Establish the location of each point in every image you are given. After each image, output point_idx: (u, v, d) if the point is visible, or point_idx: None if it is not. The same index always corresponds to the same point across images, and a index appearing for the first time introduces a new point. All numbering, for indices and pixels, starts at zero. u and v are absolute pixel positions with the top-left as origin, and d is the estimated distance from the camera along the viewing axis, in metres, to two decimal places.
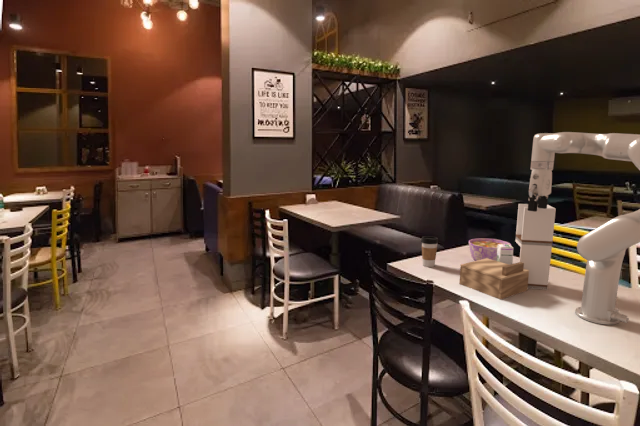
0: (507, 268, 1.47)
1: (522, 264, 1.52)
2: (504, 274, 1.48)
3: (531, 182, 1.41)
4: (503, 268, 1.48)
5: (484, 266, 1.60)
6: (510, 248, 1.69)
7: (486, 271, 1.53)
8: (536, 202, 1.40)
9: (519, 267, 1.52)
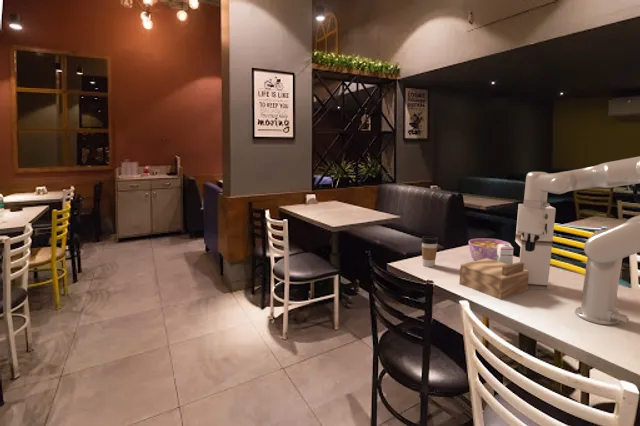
0: (507, 268, 1.47)
1: (522, 264, 1.52)
2: (504, 274, 1.48)
3: (543, 222, 1.37)
4: (503, 268, 1.48)
5: (484, 266, 1.60)
6: (510, 248, 1.69)
7: (486, 271, 1.53)
8: None
9: (519, 267, 1.52)
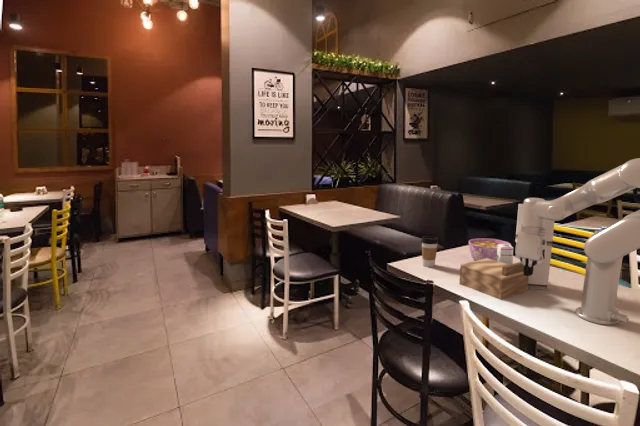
0: (507, 268, 1.47)
1: (522, 264, 1.52)
2: (504, 274, 1.48)
3: (541, 248, 1.39)
4: (503, 268, 1.48)
5: (484, 266, 1.60)
6: (510, 248, 1.69)
7: (486, 271, 1.53)
8: None
9: (519, 267, 1.52)
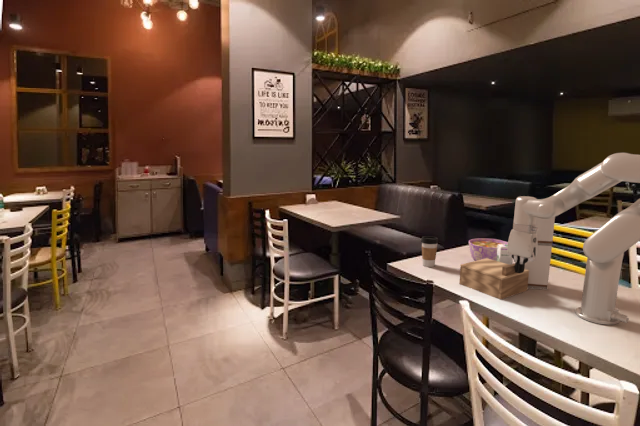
0: (507, 268, 1.47)
1: None
2: (504, 274, 1.48)
3: (532, 246, 1.41)
4: (503, 268, 1.48)
5: (484, 266, 1.60)
6: None
7: (486, 271, 1.53)
8: None
9: None
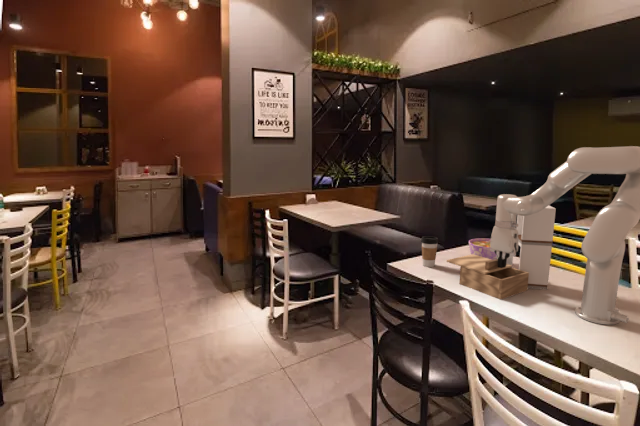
0: (490, 263, 1.54)
1: None
2: (487, 269, 1.54)
3: (513, 241, 1.48)
4: (486, 263, 1.54)
5: (469, 261, 1.67)
6: None
7: (470, 266, 1.60)
8: None
9: None
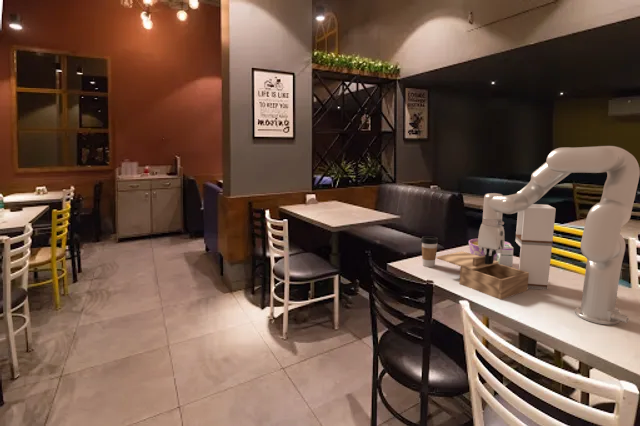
0: (477, 259, 1.59)
1: None
2: (474, 265, 1.60)
3: (499, 239, 1.53)
4: (473, 259, 1.60)
5: (458, 258, 1.72)
6: (510, 248, 1.69)
7: (458, 262, 1.65)
8: None
9: None
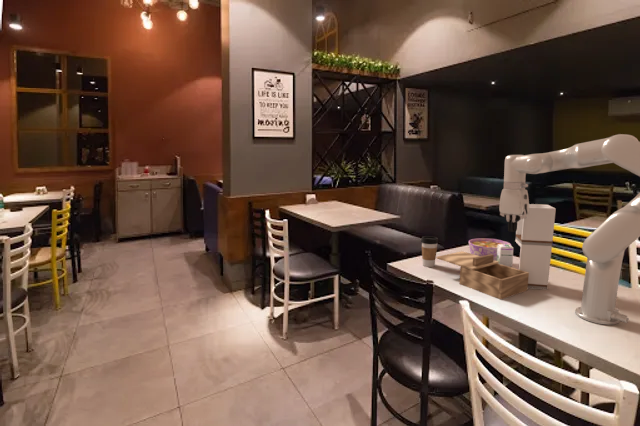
0: (477, 259, 1.59)
1: (492, 256, 1.64)
2: (474, 265, 1.60)
3: (523, 202, 1.43)
4: (473, 259, 1.60)
5: (458, 258, 1.72)
6: (510, 248, 1.69)
7: (458, 262, 1.65)
8: None
9: (489, 258, 1.63)
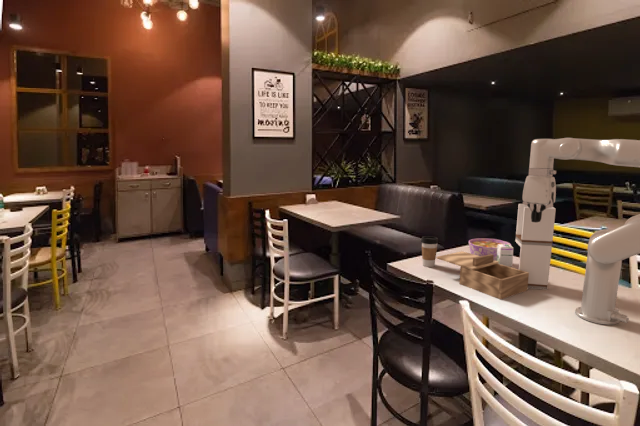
0: (477, 259, 1.59)
1: (492, 256, 1.64)
2: (474, 265, 1.60)
3: (550, 191, 1.32)
4: (473, 259, 1.60)
5: (458, 258, 1.72)
6: (510, 248, 1.69)
7: (458, 262, 1.65)
8: None
9: (489, 258, 1.63)
